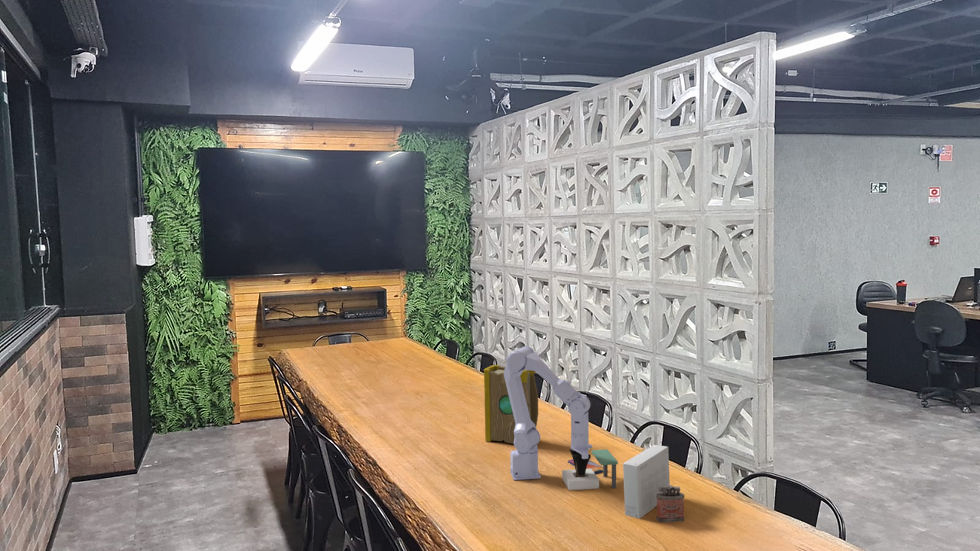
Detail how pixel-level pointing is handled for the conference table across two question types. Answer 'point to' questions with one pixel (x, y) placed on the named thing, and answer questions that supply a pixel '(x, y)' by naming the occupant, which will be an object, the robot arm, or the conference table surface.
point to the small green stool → (606, 463)
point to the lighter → (670, 504)
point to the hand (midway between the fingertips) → (580, 472)
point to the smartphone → (590, 466)
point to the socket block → (580, 480)
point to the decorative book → (505, 403)
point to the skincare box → (645, 480)
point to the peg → (577, 473)
